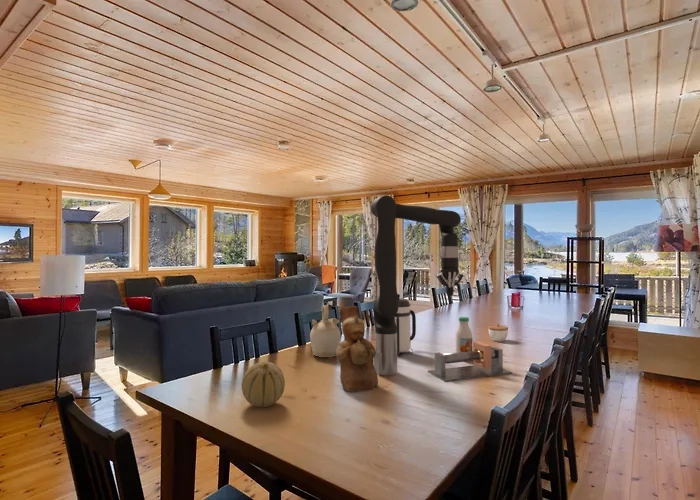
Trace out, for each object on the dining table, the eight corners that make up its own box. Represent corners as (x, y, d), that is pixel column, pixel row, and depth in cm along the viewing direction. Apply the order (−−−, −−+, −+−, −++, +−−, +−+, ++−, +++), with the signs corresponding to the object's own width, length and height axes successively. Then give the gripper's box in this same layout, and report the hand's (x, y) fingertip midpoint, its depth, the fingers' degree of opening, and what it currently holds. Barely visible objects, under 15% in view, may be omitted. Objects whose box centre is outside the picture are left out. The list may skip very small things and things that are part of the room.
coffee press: (414, 357, 202) (413, 295, 202) (381, 355, 205) (381, 295, 205) (416, 348, 219) (415, 291, 219) (385, 347, 222) (385, 291, 222)
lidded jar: (484, 339, 239) (484, 323, 239) (498, 337, 244) (498, 321, 244) (498, 343, 230) (497, 326, 230) (512, 341, 234) (512, 324, 234)
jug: (342, 351, 215) (341, 303, 215) (338, 359, 200) (338, 307, 200) (313, 350, 217) (312, 302, 217) (307, 358, 201) (306, 307, 201)
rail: (444, 381, 165) (444, 358, 165) (427, 371, 178) (427, 350, 178) (511, 373, 175) (511, 351, 175) (490, 364, 188) (490, 344, 188)
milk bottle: (454, 360, 196) (453, 318, 196) (457, 356, 203) (457, 315, 203) (470, 362, 192) (470, 319, 192) (474, 358, 199) (473, 316, 199)
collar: (485, 369, 174) (485, 346, 174) (473, 364, 182) (473, 342, 182) (491, 368, 175) (491, 345, 175) (479, 363, 183) (479, 341, 183)
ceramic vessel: (343, 395, 151) (342, 312, 151) (330, 377, 172) (329, 304, 172) (384, 390, 155) (383, 310, 155) (366, 373, 176) (365, 303, 176)
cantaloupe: (266, 394, 152) (266, 353, 152) (294, 403, 143) (293, 360, 143) (232, 406, 141) (231, 362, 141) (259, 417, 131) (259, 370, 131)
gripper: (440, 257, 179) (441, 297, 179) (467, 256, 183) (467, 295, 183) (432, 256, 186) (432, 295, 186) (458, 256, 190) (458, 294, 190)
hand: (450, 295), depth 185 cm, fingers closed
